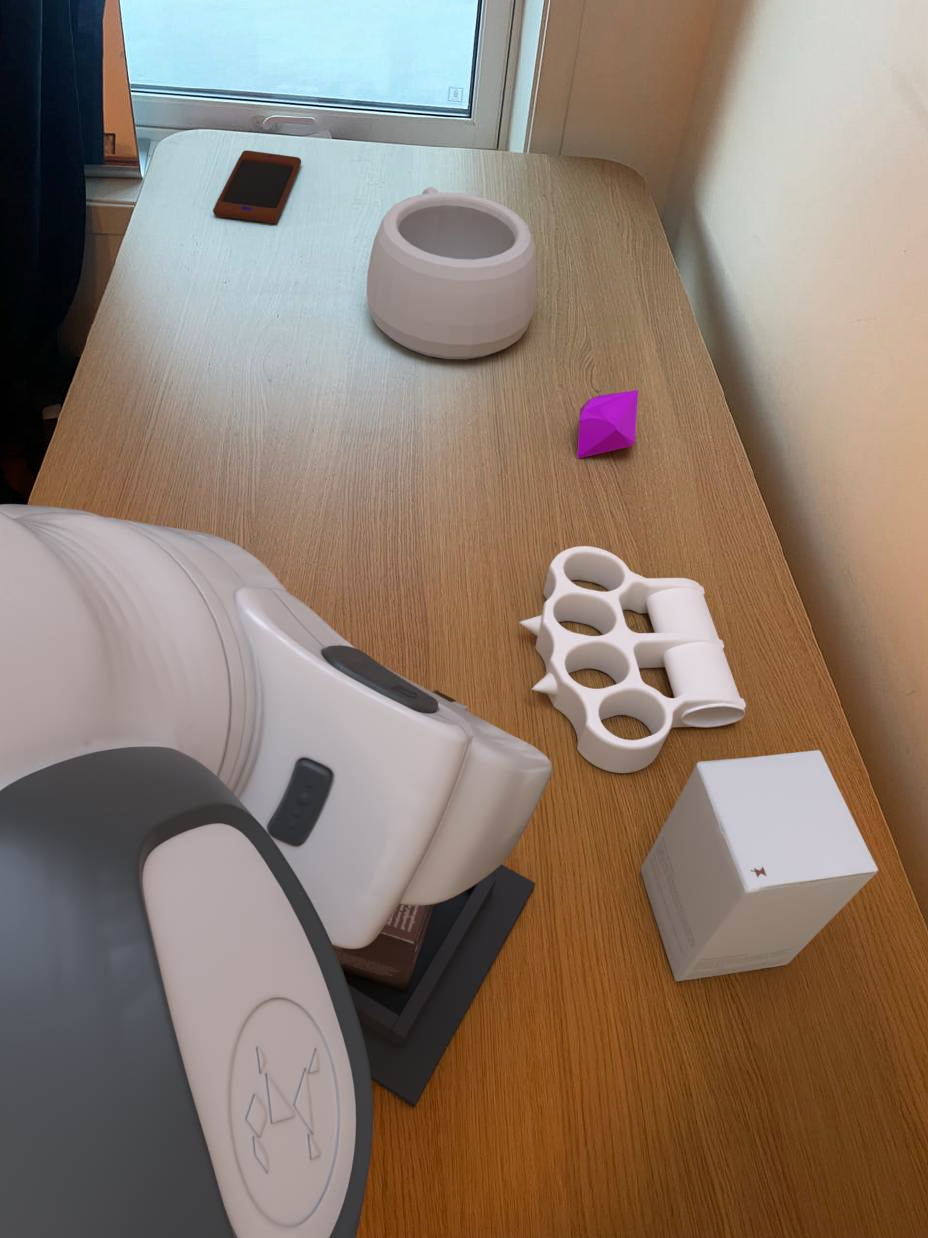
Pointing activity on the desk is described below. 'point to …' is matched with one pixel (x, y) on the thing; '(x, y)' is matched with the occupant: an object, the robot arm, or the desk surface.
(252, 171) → the smartphone
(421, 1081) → the dock pad
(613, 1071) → the desk surface
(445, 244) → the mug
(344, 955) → the box
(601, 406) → the crystal
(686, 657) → the knuckle duster
